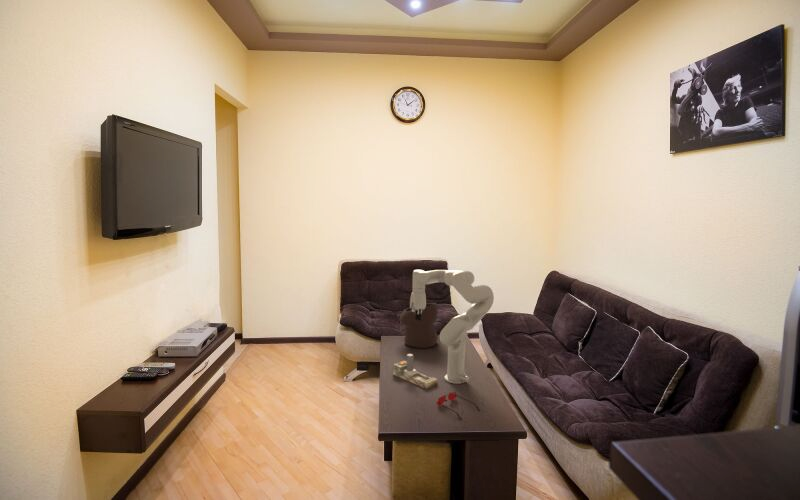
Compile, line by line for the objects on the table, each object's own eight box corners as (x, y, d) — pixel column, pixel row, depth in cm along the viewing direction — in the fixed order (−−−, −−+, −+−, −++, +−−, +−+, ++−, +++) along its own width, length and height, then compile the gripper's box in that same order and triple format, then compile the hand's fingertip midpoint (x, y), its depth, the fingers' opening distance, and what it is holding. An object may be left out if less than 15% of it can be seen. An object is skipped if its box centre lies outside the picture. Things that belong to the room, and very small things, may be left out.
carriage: (416, 374, 233) (416, 354, 232) (409, 376, 229) (410, 357, 228) (409, 371, 236) (410, 352, 235) (403, 374, 233) (403, 354, 231)
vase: (437, 337, 305) (438, 298, 302) (436, 349, 278) (437, 307, 275) (401, 335, 308) (402, 297, 304) (397, 348, 281) (398, 305, 278)
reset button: (406, 368, 237) (406, 363, 237) (402, 369, 234) (402, 364, 234) (402, 366, 239) (402, 361, 239) (398, 368, 237) (398, 363, 237)
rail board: (437, 384, 224) (437, 373, 223) (426, 388, 218) (426, 378, 217) (404, 370, 243) (404, 360, 242) (393, 374, 236) (393, 364, 236)
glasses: (454, 398, 208) (455, 389, 207) (480, 411, 195) (480, 401, 195) (435, 407, 199) (435, 397, 198) (461, 421, 186) (461, 410, 186)
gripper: (422, 287, 252) (422, 316, 254) (405, 291, 242) (405, 321, 244) (431, 289, 247) (431, 319, 249) (414, 293, 236) (414, 323, 238)
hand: (418, 319), depth 246 cm, fingers closed
